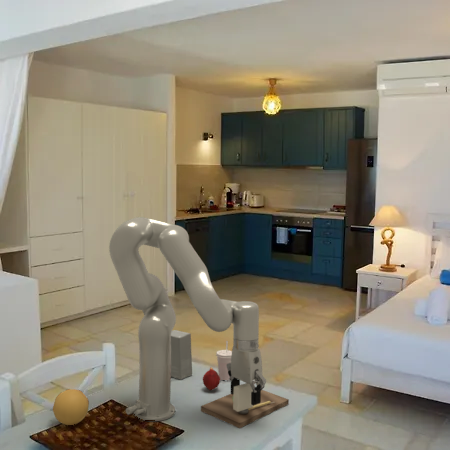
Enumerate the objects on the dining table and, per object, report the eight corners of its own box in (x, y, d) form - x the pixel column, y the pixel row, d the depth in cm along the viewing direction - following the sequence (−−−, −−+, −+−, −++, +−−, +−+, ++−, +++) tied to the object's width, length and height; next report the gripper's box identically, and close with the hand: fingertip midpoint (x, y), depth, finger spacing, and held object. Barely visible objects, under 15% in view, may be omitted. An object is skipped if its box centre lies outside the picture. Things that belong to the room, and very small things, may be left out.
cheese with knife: (238, 416, 163) (239, 389, 162) (231, 412, 165) (232, 386, 164) (273, 405, 171) (274, 379, 170) (266, 401, 174) (267, 376, 173)
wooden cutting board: (239, 428, 159) (240, 422, 159) (200, 411, 170) (200, 405, 169) (288, 404, 177) (288, 398, 176) (250, 390, 187) (250, 384, 187)
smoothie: (231, 383, 193) (232, 344, 192) (213, 381, 194) (214, 342, 193) (234, 376, 199) (235, 339, 198) (217, 374, 200) (218, 337, 199)
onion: (222, 389, 187) (223, 366, 186) (213, 395, 182) (214, 371, 181) (208, 385, 190) (209, 363, 189) (199, 391, 185) (199, 368, 184)
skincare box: (192, 375, 199) (193, 333, 197) (179, 381, 193) (180, 337, 192) (175, 369, 204) (176, 328, 203) (161, 375, 198) (162, 332, 197)
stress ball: (81, 434, 154) (101, 403, 160) (59, 415, 150) (80, 383, 156) (61, 428, 161) (81, 399, 167) (39, 410, 156) (60, 380, 162)
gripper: (274, 348, 159) (274, 405, 161) (237, 334, 173) (237, 386, 174) (255, 353, 155) (254, 411, 156) (218, 338, 168) (218, 392, 170)
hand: (245, 398), depth 165 cm, fingers open, 9 cm apart
